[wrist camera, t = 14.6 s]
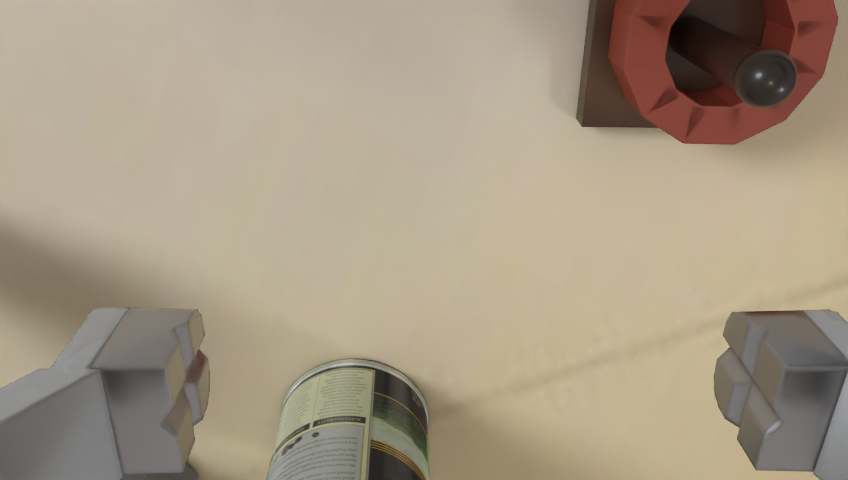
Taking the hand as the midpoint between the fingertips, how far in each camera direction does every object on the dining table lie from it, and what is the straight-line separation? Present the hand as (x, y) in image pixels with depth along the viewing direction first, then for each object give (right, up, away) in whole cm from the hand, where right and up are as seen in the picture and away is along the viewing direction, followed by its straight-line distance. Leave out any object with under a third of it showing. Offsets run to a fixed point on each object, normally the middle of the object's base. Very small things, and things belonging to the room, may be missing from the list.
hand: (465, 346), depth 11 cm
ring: (+14, +13, +27) cm, 33 cm away
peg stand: (+13, +13, +28) cm, 34 cm away
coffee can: (-5, -11, +40) cm, 41 cm away
